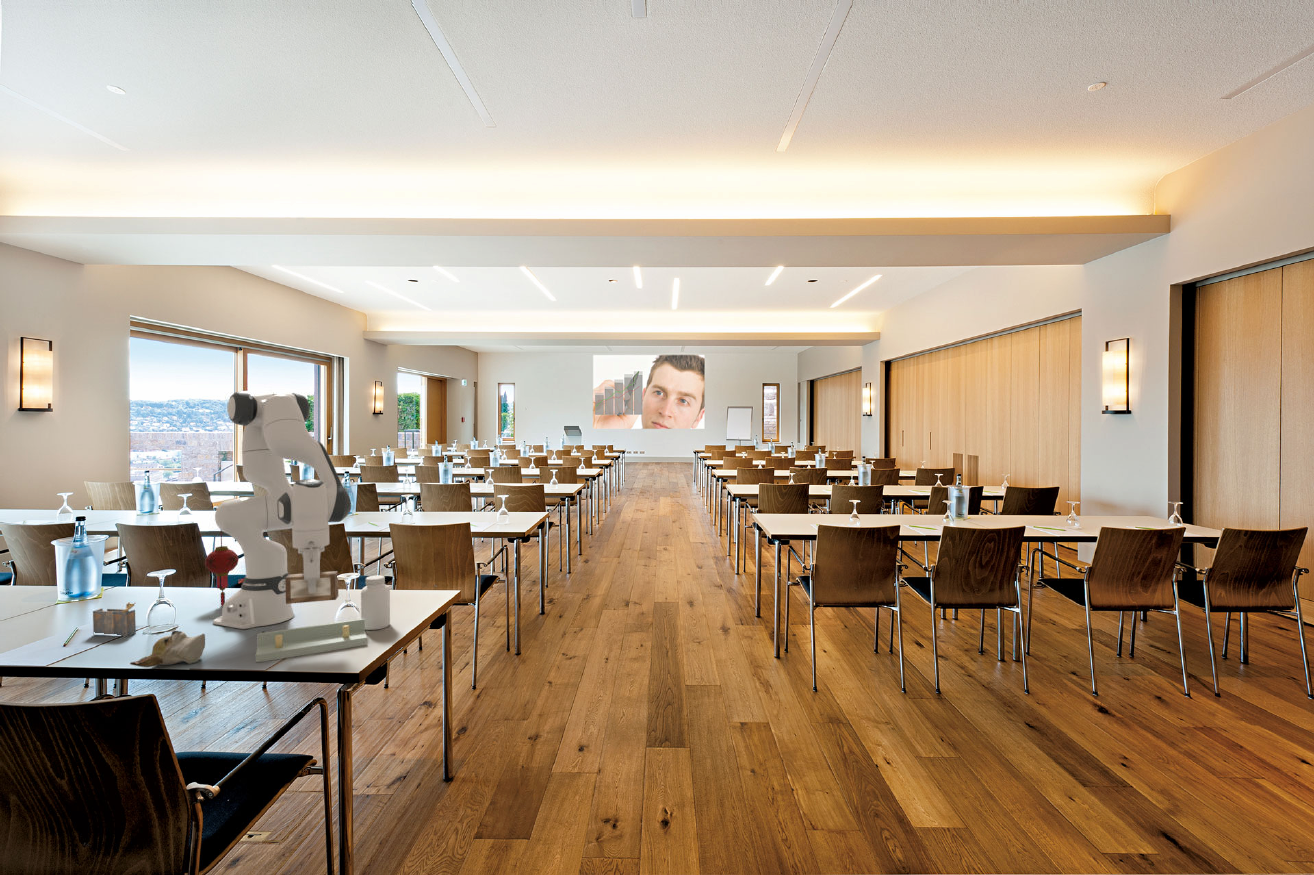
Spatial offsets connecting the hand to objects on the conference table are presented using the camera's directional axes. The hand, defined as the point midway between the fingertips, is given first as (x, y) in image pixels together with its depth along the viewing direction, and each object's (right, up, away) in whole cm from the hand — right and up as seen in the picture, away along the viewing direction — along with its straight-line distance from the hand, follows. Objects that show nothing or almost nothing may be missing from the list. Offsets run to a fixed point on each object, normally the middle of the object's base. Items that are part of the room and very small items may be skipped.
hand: (312, 590), depth 171 cm
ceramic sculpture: (-31, -17, -9) cm, 36 cm away
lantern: (-54, -16, +43) cm, 71 cm away
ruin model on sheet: (-65, -17, +14) cm, 69 cm away
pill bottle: (+9, -16, +19) cm, 26 cm away
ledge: (0, -16, 0) cm, 16 cm away
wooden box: (0, -3, 0) cm, 3 cm away
